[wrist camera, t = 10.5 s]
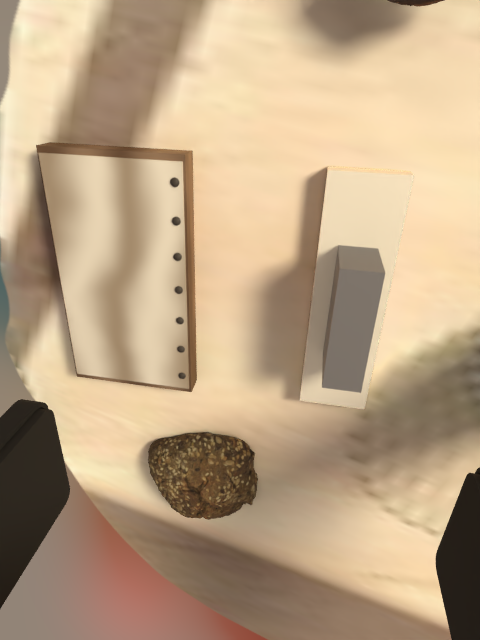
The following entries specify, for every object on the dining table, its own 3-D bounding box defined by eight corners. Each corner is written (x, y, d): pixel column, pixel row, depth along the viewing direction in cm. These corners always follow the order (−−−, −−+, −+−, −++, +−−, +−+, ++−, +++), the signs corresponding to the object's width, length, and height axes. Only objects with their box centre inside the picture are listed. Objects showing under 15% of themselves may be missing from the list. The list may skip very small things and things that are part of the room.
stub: (410, 171, 32) (428, 190, 27) (363, 398, 42) (368, 448, 37) (327, 166, 33) (327, 183, 27) (300, 390, 43) (296, 437, 37)
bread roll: (143, 429, 50) (125, 461, 46) (249, 426, 47) (241, 461, 43) (171, 507, 56) (158, 543, 51) (268, 509, 53) (262, 547, 48)
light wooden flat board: (192, 150, 34) (184, 155, 32) (196, 380, 45) (190, 393, 43) (50, 142, 36) (34, 145, 34) (86, 365, 47) (75, 377, 45)
